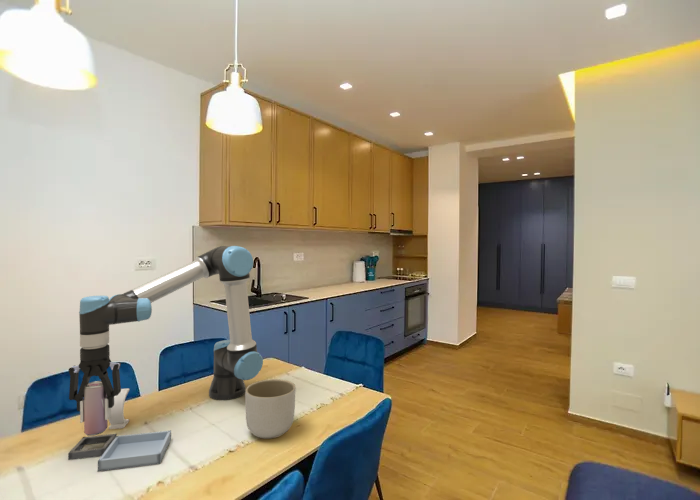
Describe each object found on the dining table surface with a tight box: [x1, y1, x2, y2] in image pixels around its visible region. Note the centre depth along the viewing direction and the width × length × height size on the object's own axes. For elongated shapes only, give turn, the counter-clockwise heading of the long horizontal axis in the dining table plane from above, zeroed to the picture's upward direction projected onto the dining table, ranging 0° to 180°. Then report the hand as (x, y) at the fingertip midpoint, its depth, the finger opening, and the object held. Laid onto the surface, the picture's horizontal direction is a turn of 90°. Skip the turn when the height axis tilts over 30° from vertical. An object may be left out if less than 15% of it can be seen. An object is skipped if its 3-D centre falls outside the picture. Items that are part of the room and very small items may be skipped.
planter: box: [244, 378, 297, 440], centre depth 125 cm, size 17×17×15 cm
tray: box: [97, 429, 172, 473], centre depth 110 cm, size 16×14×3 cm
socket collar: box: [67, 433, 118, 461], centre depth 112 cm, size 10×10×2 cm
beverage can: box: [83, 380, 109, 437], centre depth 113 cm, size 6×6×15 cm
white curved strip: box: [107, 388, 131, 430], centre depth 127 cm, size 5×6×12 cm
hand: (96, 419), depth 113 cm, fingers closed on beverage can, 6 cm apart
